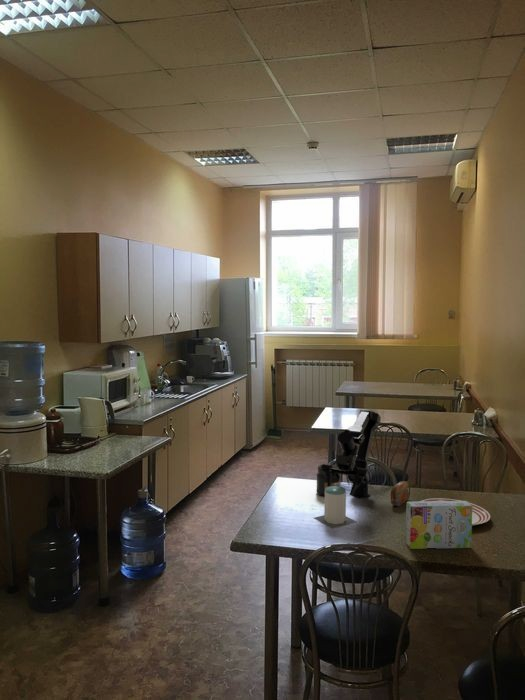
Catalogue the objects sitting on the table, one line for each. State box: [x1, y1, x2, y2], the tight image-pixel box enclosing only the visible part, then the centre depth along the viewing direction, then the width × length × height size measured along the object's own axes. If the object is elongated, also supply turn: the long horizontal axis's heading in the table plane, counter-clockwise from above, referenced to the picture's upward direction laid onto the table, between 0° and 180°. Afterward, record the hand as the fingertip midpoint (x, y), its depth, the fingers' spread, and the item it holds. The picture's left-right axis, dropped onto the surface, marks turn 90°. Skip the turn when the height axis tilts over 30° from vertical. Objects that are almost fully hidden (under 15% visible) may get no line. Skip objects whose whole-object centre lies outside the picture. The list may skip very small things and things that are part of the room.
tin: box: [390, 480, 411, 507], centre depth 235 cm, size 15×3×8 cm, turn 143°
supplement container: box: [315, 464, 342, 498], centre depth 245 cm, size 10×10×12 cm
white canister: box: [323, 486, 347, 524], centre depth 214 cm, size 8×8×12 cm
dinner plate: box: [421, 497, 491, 527], centre depth 219 cm, size 27×27×3 cm
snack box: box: [405, 500, 473, 550], centre depth 193 cm, size 21×6×15 cm, turn 92°
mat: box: [313, 514, 358, 530], centre depth 215 cm, size 12×12×1 cm
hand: (339, 491), depth 219 cm, fingers open, 9 cm apart
